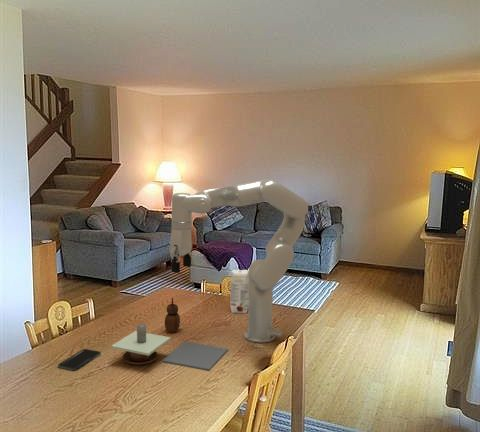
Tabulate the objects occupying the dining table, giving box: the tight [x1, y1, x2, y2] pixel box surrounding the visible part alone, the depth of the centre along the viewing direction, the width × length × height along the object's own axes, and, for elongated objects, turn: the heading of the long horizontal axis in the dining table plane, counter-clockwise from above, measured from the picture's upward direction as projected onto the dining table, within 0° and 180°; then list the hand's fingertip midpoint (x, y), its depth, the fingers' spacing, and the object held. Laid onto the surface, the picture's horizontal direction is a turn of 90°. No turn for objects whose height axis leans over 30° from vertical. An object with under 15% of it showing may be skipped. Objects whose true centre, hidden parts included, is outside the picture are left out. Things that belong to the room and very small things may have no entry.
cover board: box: [110, 323, 172, 356], centre depth 172 cm, size 15×15×7 cm
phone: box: [57, 348, 102, 372], centre depth 171 cm, size 8×1×15 cm
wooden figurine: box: [164, 296, 181, 333], centre depth 199 cm, size 7×6×15 cm
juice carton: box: [229, 269, 249, 314], centre depth 225 cm, size 8×9×19 cm
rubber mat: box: [161, 341, 229, 372], centre depth 177 cm, size 18×18×1 cm
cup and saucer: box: [122, 350, 158, 366], centre depth 173 cm, size 12×12×6 cm
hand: (181, 269), depth 188 cm, fingers open, 9 cm apart
